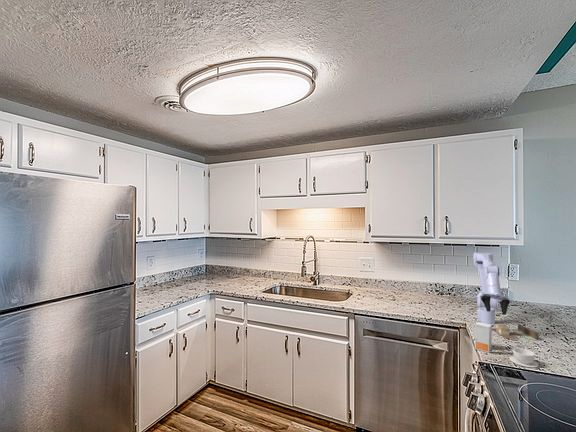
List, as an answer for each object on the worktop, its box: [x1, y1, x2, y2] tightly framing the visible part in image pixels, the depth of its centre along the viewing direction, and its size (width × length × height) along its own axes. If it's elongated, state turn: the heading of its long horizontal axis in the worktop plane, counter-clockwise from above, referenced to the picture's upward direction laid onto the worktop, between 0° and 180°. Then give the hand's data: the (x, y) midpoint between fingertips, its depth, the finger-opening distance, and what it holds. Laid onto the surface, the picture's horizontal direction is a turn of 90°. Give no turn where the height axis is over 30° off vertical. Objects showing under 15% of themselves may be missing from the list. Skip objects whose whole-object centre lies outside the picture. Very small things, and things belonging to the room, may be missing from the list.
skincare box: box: [474, 321, 493, 354], centre depth 143 cm, size 6×4×12 cm
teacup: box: [508, 347, 540, 368], centre depth 132 cm, size 10×10×5 cm
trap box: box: [492, 323, 539, 341], centre depth 160 cm, size 14×15×4 cm
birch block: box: [495, 323, 510, 336], centre depth 160 cm, size 4×4×4 cm
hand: (496, 312), depth 158 cm, fingers open, 7 cm apart
